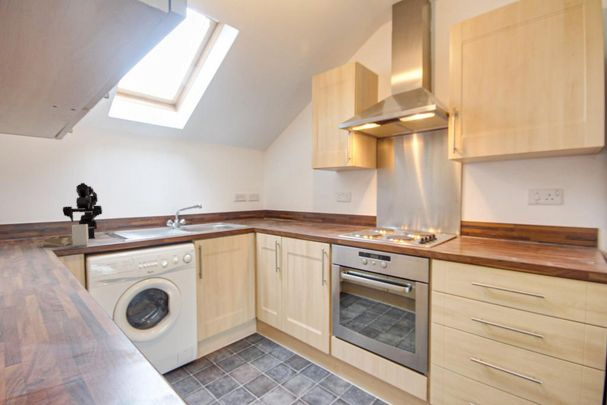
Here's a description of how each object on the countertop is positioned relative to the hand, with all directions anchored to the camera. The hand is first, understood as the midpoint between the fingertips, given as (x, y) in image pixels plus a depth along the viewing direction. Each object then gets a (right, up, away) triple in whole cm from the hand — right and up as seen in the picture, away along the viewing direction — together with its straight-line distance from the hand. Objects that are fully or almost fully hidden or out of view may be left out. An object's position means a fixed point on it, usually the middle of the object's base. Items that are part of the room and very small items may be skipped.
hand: (81, 221), depth 173 cm
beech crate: (-11, -14, -2) cm, 18 cm away
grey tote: (+4, -14, -6) cm, 15 cm away
